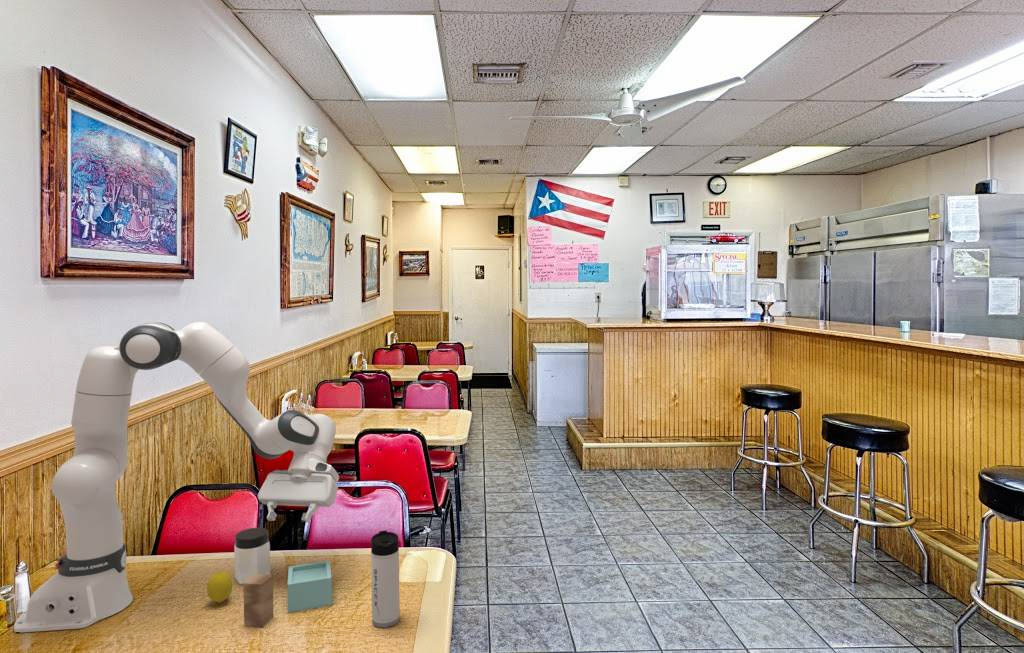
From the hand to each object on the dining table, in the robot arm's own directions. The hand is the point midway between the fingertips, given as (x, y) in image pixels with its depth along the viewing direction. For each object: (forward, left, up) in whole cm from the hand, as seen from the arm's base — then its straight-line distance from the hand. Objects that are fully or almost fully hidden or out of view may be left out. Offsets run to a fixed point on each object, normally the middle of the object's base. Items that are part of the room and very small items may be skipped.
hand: (287, 520), depth 144 cm
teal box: (+5, -4, -19) cm, 20 cm away
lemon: (-16, +1, -19) cm, 25 cm away
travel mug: (+22, -20, -19) cm, 36 cm away
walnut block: (-6, -11, -19) cm, 23 cm away
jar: (-10, +13, -19) cm, 25 cm away
